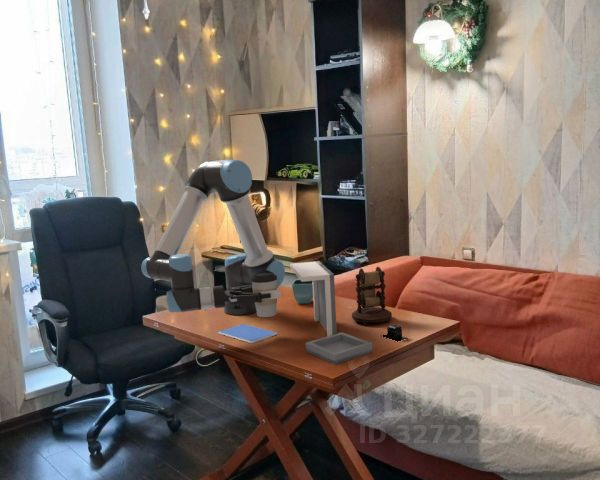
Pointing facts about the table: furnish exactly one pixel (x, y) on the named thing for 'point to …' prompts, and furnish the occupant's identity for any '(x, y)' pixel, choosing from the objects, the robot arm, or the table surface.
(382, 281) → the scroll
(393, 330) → the black angled block
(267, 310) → the coffee cup
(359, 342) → the tray
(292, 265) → the cubby
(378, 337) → the table surface
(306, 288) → the flower pot
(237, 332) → the blue piece
